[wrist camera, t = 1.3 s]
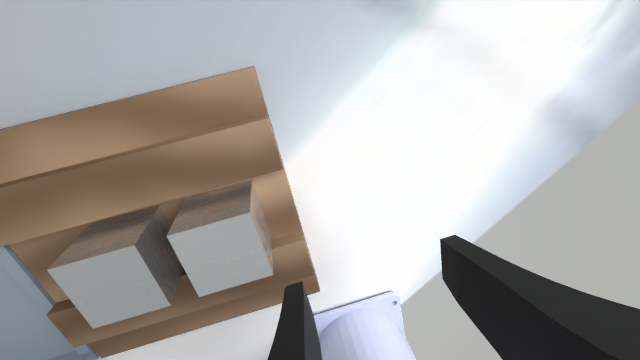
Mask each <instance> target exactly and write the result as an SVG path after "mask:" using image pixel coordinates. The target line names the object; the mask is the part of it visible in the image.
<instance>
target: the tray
mask: <svg viewBox="0 0 640 360" xmlns="http://www.w3.org/2000/svg"><path fill="white" fill-rule="evenodd" d="M55 304H56V302H55V301H54V299H53V298H52V297H51V296H50V295H49V293H48V292H47V291H46V290H45V289H44V287H43V286H42V285H41V284H40V282H39V281H38V280H37V279H36V278H35V276H34V275H33V274H32V273H31V271H30V270H29V269H28V268H27V267H26V265H25V264H24V263H23V262H22V261H21V259H20V258H19V257H18V256H17V254H16V253H15V252H14V251H13V250H12V248H11V247H10V246H9V245H6V246H3V247H0V360H96V359H97V357H98V355H99V354H98V353H97V352H96V351H95V349H94V348H93V347H92V346H91V344H90V343H88V344H85V345H82V346H78V347H75V348H74V347H73V346H72V345H71V344H70V342H69V341H68V340H67V339H66V338H65V337H64V336H63V334H62V333H61V332H60V331H59V330H58V329H57V327H56V326H55V325H54V324H53V323H52V322H51V320H50V319H49V318H48V317H47V316H46V315H47V314H48V312H49V311H50V310H51V309H52V307H53V306H54V305H55Z"/></svg>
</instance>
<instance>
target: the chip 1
mask: <svg viewBox="0 0 640 360" xmlns="http://www.w3.org/2000/svg"><path fill="white" fill-rule="evenodd" d="M170 228H171V225H170V223H169V222H168V220H167V218H166V216H165V214H164V212H163V210H162V208H161V206H160V205H158V206H154V207H151V208H147V209H144V210H140V211H136V212H133V213H129V214H125V215H122V216H118V217H114V218H111V219H107V220H104V221H100V222H96V223H93V224H90V225H89V226H88V227H87V228H86V229H85V230H84V231H83V232H82V234H81V235H80V236H79V237H78V238H77V239H76V240H75V241H74V242H73V243H72V244H71V245H70V246H69V247H68V248H67V249H66V250H65V251H64V252H63V253H62V254H61V256H60V257H59V258H58V259H57V260H56V261H55V262H54V263H53V264H52V265H51V266H50V267H49V268H48V269H47V271H48V272H49V274H50V275H51V276H52V277H53V279H54V280H55V281H56V282H57V284H58V285H59V286H60V288H61V289H62V290H63V291H64V293H65V294H66V295H67V296H68V298H69V299H70V300H71V301H72V303H73V304H74V305H75V307H76V308H77V309H78V310H79V312H80V313H81V314H82V315H83V317H84V318H85V319H86V320H87V322H88V323H89V324H90V326H91V327H92V328H93V329H94V328H98V327H101V326H104V325H108V324H111V323H114V322H118V321H121V320H124V319H128V318H131V317H134V316H138V315H141V314H144V313H148V312H151V311H154V310H158V309H161V308H165V307H168V306H171V303H172V301H173V298H174V295H175V292H176V289H177V286H178V283H179V280H180V277H181V275H182V272H183V269H184V268H183V266H182V264H181V262H180V260H179V259H178V257H177V255H176V253H175V251H174V249H173V247H172V245H171V244H170V242H169V240H168V238H167V234H168V232H169V230H170Z"/></svg>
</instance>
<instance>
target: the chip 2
mask: <svg viewBox="0 0 640 360" xmlns="http://www.w3.org/2000/svg"><path fill="white" fill-rule="evenodd" d="M167 238H168V240H169V242H170V244H171V245H172V247H173V249H174V251H175V253H176V255H177V257H178V259H179V260H180V262H181V264H182V266H183V268H184V270H185V272H186V273H187V275H188V277H189V279H190V281H191V283H192V285H193V287H194V288H195V290H196V292H197V294H198V296H199V297H201V296H205V295H208V294H211V293H215V292H218V291H221V290H225V289H228V288H231V287H235V286H238V285H242V284H245V283H248V282H252V281H255V280H258V279H262V278H265V277H268V276H272V275H273V262H272V244H271V232H270V230H269V227H268V224H267V221H266V218H265V215H264V213H263V210H262V207H261V204H260V201H259V198H258V196H257V193H256V190H255V187H254V184H253V181H252V180H249V181H245V182H242V183H238V184H234V185H231V186H227V187H223V188H220V189H216V190H213V191H209V192H205V193H202V194H198V195H194V196H191V197H187V198H185V200H184V202H183V204H182V206H181V208H180V210H179V212H178V214H177V216H176V218H175V220H174V222H173V224H172V226H171V228H170V230H169V232H168V234H167Z"/></svg>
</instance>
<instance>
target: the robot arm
mask: <svg viewBox="0 0 640 360" xmlns="http://www.w3.org/2000/svg"><path fill="white" fill-rule="evenodd" d="M440 243H441V260H442V275H443V280H444V282H445V283H446V285H447V286H448V288H449V290H450V291H451V293H452V295H453V296H454V298H455V299H456V301H457V302H458V304H459V305H460V306H461V308H462V309H463V310H464V311H465V313H466V314H467V315H468V316H469V318H470V319H471V320H472V321H473V323H474V324H475V325H476V326H477V328H478V329H479V330H480V331H481V333H482V334H483V335H484V336H485V338H486V339H487V340H488V341H489V343H490V344H491V345H492V346H493V348H494V349H495V350H496V351H497V353H498V354H499V355H500V357H501V358H502V359H503V360H640V309H637V308H634V307H630V306H626V305H623V304H619V303H616V302H613V301H609V300H606V299H603V298H600V297H597V296H593V295H590V294H587V293H584V292H581V291H579V290H576V289H573V288H570V287H568V286H565V285H562V284H559V283H557V282H554V281H551V280H549V279H547V278H544V277H542V276H539V275H537V274H535V273H532V272H530V271H528V270H525V269H523V268H521V267H519V266H517V265H514V264H512V263H510V262H508V261H506V260H504V259H502V258H499V257H498V256H496V255H494V254H492V253H490V252H488V251H486V250H483V249H482V248H480V247H478V246H476V245H474V244H472V243H470V242H468V241H466V240H464V239H462V238H460V237H458V236H456V235H453V236H450V237H446V238H443V239H440ZM393 301H394V302H393ZM268 360H416V358H415V356H414V354H413V352H412V350H411V348H410V346H409V344H408V342H407V340H406V338H405V333H404V327H403V320H402V313H401V306H400V299H399V295H398V293H397V292H396V291H391V292H388V293H384V294H381V295H378V296H375V297H372V298H368V299H365V300H362V301H359V302H356V303H352V304H349V305H346V306H343V307H339V308H336V309H333V310H330V311H327V312H323V313H320V314H317V315H314V316H313V313H312V310H311V306H310V303H309V300H308V297H307V294H306V291H305V288H304V285H303V282H302V281H301V282H298V283H294V284H291V285H288V286H286V288H285V289H284V298H283V304H282V309H281V314H280V318H279V322H278V326H277V330H276V334H275V338H274V341H273V344H272V347H271V351H270V354H269V357H268Z"/></svg>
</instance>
